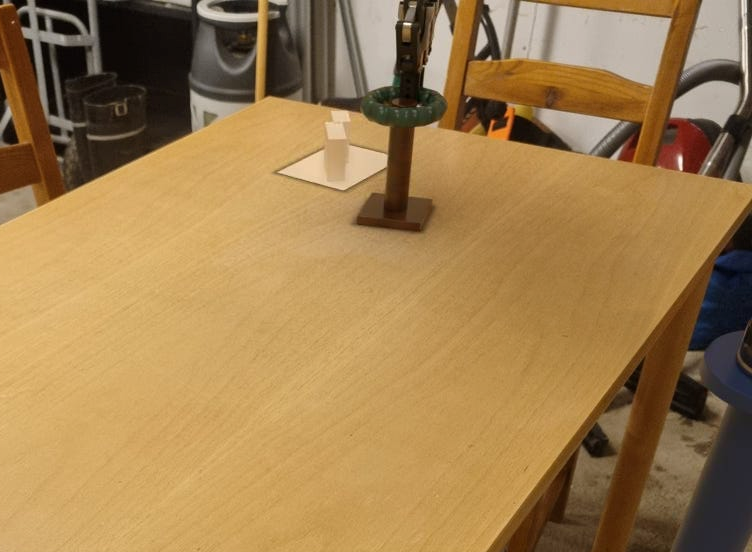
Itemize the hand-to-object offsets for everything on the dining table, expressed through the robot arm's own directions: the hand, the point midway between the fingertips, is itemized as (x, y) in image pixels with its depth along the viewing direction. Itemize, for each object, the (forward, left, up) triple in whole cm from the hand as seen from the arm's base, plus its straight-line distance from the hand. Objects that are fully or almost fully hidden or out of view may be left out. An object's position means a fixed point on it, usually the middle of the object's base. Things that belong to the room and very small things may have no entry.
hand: (410, 103), depth 112 cm
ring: (0, +4, +1) cm, 4 cm away
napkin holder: (+11, -11, -12) cm, 20 cm away
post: (0, +4, -12) cm, 12 cm away
